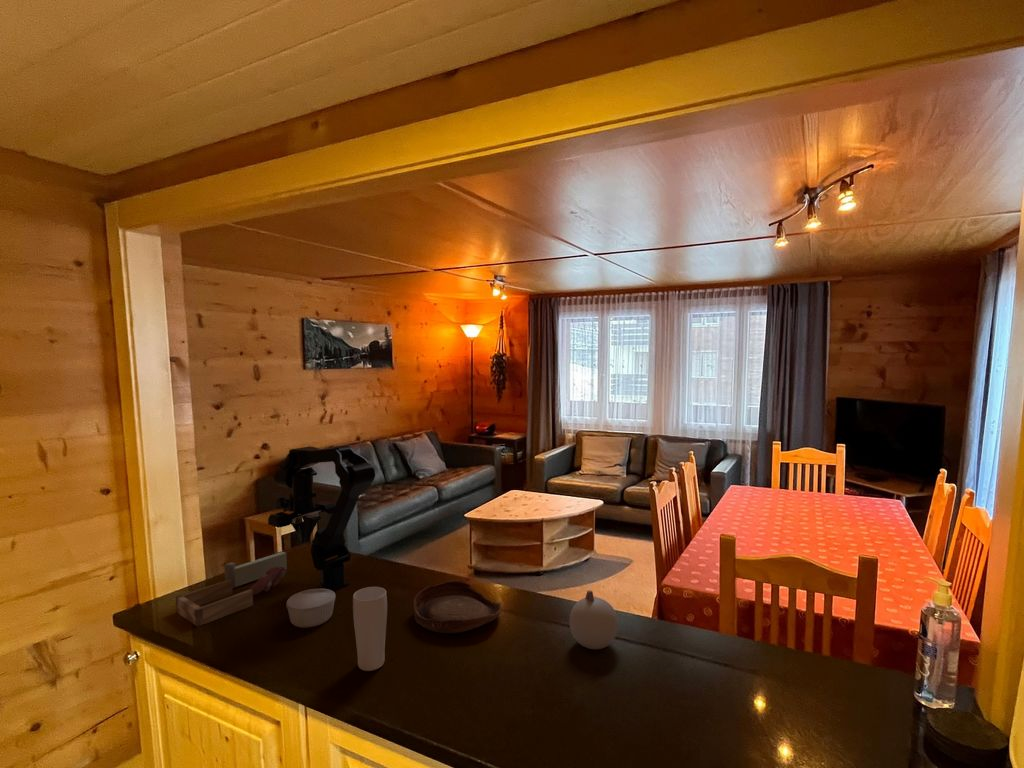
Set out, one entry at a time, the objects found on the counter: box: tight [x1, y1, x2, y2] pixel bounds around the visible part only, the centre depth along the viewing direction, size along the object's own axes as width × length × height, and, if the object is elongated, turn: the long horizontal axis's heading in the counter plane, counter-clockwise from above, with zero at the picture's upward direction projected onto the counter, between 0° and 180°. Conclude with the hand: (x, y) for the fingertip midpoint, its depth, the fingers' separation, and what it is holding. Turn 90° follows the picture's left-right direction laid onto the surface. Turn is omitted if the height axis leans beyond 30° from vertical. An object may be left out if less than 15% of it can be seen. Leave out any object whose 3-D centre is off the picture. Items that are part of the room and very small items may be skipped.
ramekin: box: [285, 588, 336, 629], centre depth 125 cm, size 11×11×5 cm
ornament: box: [568, 589, 619, 650], centre depth 111 cm, size 10×10×12 cm
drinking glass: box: [352, 586, 388, 672], centre depth 105 cm, size 7×7×15 cm
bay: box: [175, 579, 254, 627], centre depth 131 cm, size 12×13×4 cm
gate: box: [223, 551, 288, 589], centre depth 148 cm, size 17×3×6 cm, turn 144°
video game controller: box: [249, 566, 288, 596], centre depth 142 cm, size 10×5×7 cm, turn 169°
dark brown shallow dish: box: [412, 580, 503, 634], centre depth 125 cm, size 22×20×5 cm
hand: (304, 542), depth 150 cm, fingers closed
